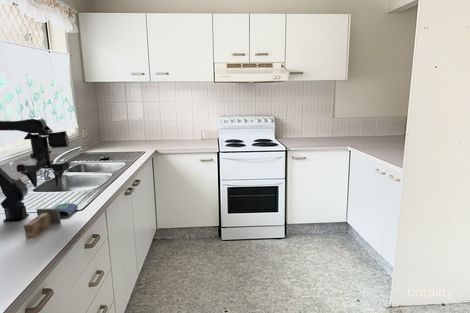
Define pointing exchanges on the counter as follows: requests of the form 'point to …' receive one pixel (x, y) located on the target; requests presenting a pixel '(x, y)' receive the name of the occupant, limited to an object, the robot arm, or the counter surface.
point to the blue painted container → (66, 209)
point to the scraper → (42, 222)
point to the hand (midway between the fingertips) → (46, 186)
